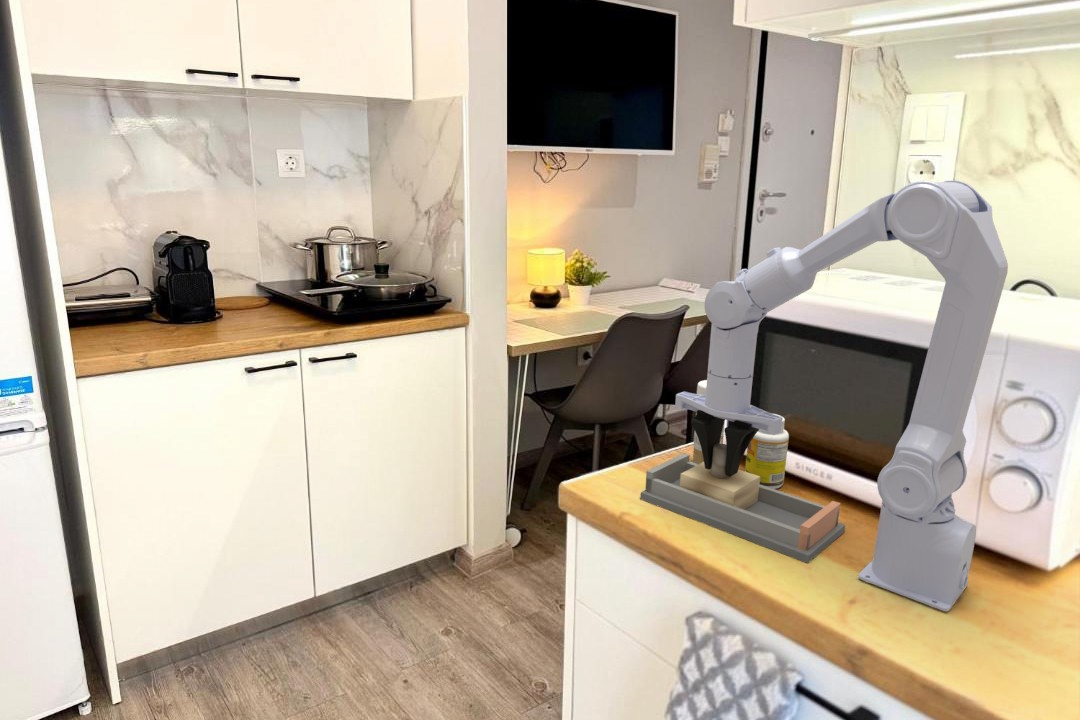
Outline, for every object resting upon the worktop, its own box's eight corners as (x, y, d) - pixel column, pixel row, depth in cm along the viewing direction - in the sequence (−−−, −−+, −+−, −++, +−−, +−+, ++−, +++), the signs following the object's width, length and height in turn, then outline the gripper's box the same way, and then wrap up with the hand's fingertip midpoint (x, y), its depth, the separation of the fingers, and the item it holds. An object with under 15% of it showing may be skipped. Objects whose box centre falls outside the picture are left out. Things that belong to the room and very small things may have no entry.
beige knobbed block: (757, 501, 102) (763, 448, 100) (731, 517, 97) (737, 462, 95) (705, 483, 107) (710, 433, 105) (678, 498, 102) (682, 445, 100)
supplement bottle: (747, 472, 114) (754, 408, 112) (785, 479, 112) (793, 414, 109) (740, 486, 109) (747, 419, 107) (780, 494, 107) (788, 426, 104)
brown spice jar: (725, 472, 114) (733, 387, 110) (696, 473, 113) (703, 388, 110) (714, 461, 118) (722, 378, 115) (686, 461, 118) (693, 379, 114)
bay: (844, 531, 97) (848, 503, 96) (807, 563, 89) (811, 532, 88) (683, 476, 112) (685, 451, 111) (640, 498, 104) (642, 472, 103)
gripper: (797, 378, 96) (785, 477, 99) (697, 356, 105) (690, 448, 109) (771, 389, 91) (760, 494, 94) (669, 365, 100) (662, 461, 104)
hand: (721, 470), depth 101 cm, fingers closed on beige knobbed block, 2 cm apart
